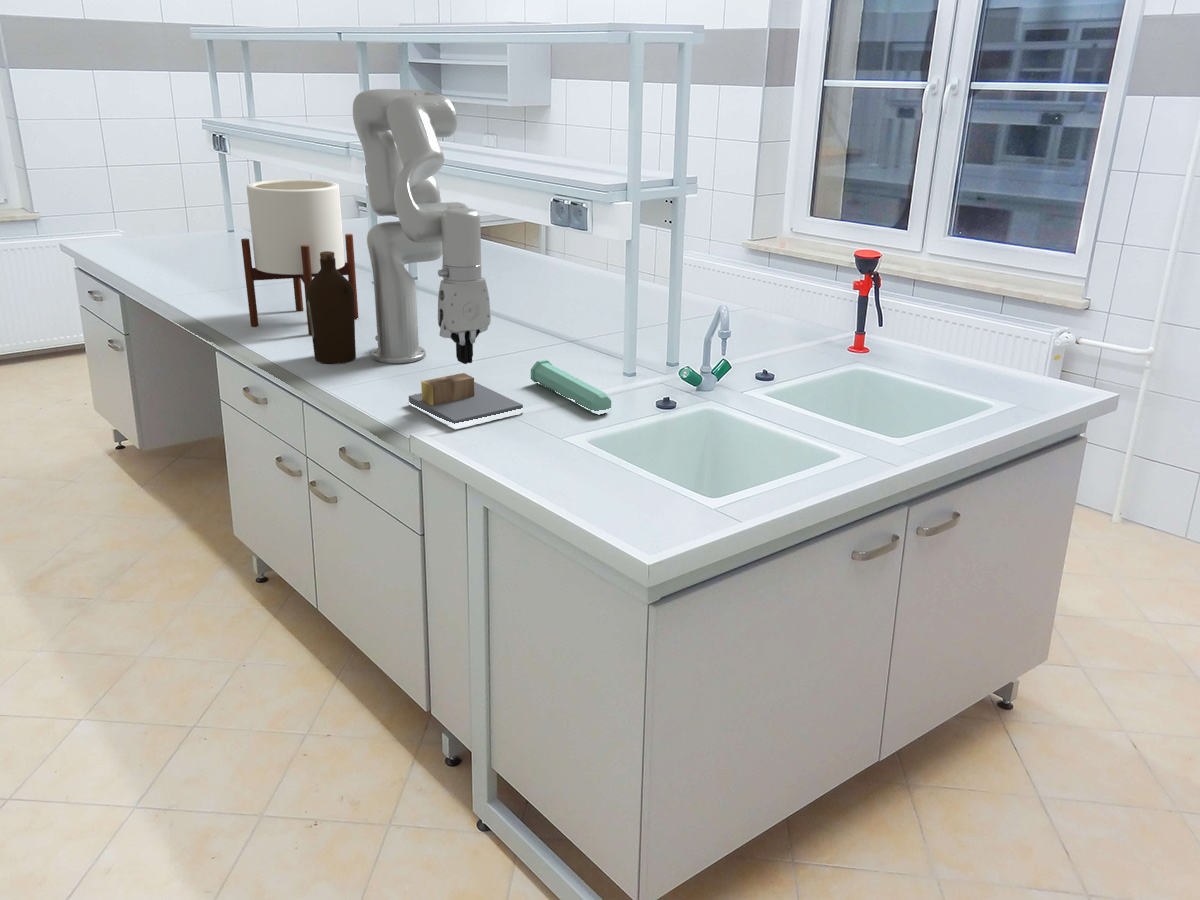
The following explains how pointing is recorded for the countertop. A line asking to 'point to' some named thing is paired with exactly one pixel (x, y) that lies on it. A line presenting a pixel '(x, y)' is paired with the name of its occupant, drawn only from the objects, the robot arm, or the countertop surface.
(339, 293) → the olive oil
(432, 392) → the block
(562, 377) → the container
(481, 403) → the board
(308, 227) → the plant pot with stand
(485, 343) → the countertop surface
